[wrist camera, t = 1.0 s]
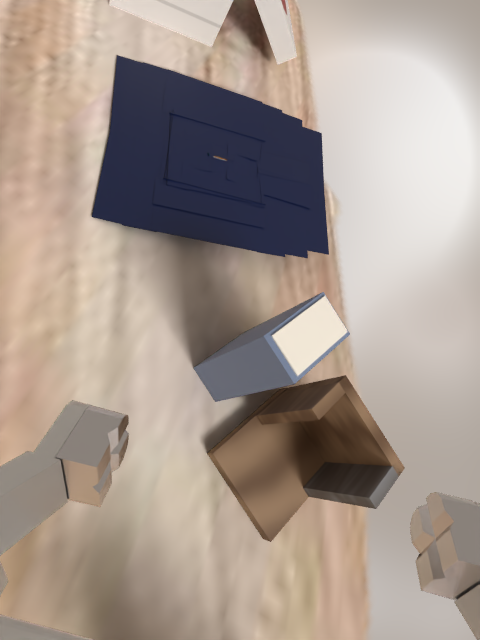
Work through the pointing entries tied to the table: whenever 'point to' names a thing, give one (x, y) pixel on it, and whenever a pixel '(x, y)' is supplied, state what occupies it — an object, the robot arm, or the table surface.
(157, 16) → the pizza boxes
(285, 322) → the tall blue pillar
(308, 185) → the navy flat slab
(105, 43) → the table surface
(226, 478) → the shelf
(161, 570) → the table surface
